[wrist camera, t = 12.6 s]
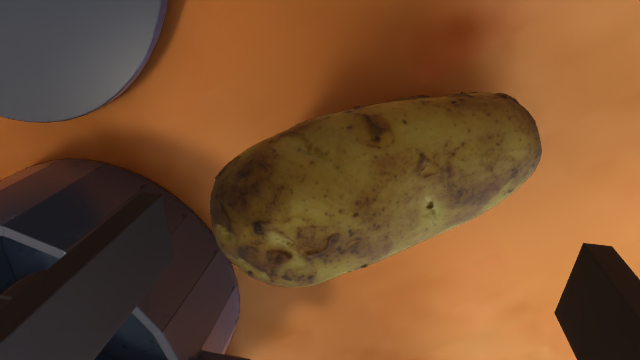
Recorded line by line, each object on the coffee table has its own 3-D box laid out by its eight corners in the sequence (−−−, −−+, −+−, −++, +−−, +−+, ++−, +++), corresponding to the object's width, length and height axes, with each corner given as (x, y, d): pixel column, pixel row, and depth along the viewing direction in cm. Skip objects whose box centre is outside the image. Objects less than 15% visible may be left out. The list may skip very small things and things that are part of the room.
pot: (-77, 140, 25) (-233, 191, 19) (276, 180, 22) (227, 258, 15) (13, 340, 33) (-76, 421, 27) (280, 392, 30) (249, 499, 24)
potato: (491, 238, 21) (538, 368, 14) (258, 210, 23) (194, 310, 16) (534, 81, 17) (629, 148, 10) (251, 62, 19) (163, 107, 12)
